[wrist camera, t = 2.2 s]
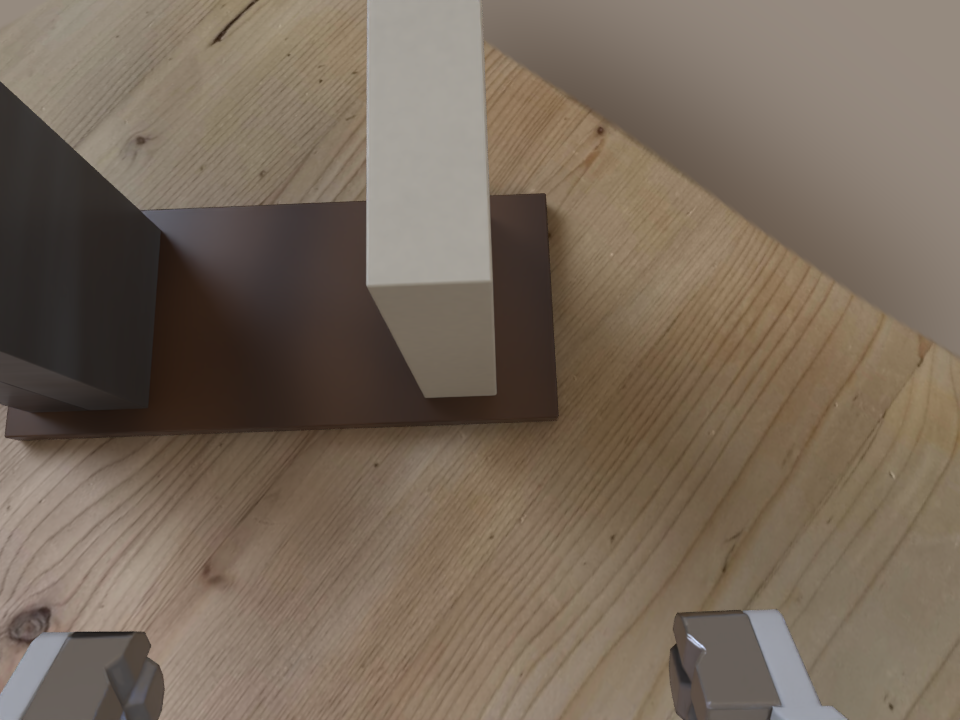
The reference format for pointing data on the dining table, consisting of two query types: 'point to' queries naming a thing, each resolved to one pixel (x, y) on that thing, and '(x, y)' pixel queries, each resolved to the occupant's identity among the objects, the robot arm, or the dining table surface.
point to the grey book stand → (226, 311)
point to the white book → (431, 191)
